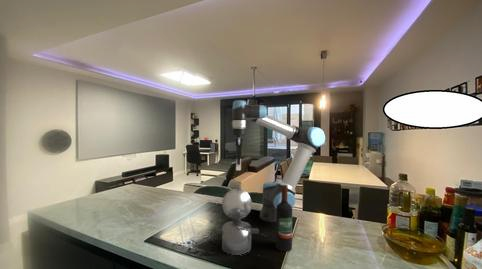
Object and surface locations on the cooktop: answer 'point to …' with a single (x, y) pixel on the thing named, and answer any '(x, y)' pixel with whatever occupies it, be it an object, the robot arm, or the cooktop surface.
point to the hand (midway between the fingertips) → (238, 170)
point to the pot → (236, 237)
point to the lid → (236, 204)
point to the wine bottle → (284, 223)
